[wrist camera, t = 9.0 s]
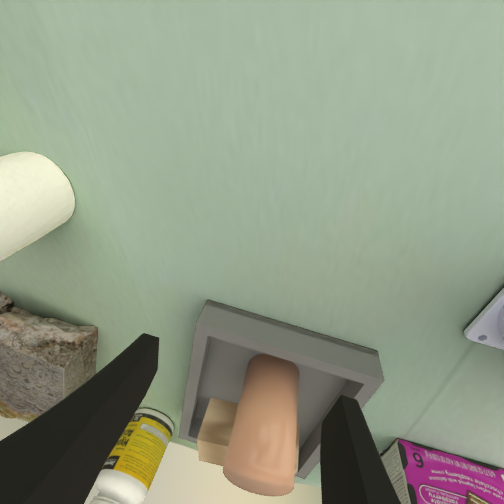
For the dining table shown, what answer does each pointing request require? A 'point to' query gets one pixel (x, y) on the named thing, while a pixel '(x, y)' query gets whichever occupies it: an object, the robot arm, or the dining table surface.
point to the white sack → (31, 200)
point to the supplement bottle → (134, 459)
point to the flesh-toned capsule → (265, 428)
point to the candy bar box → (440, 476)
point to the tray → (282, 346)
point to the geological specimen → (41, 360)
